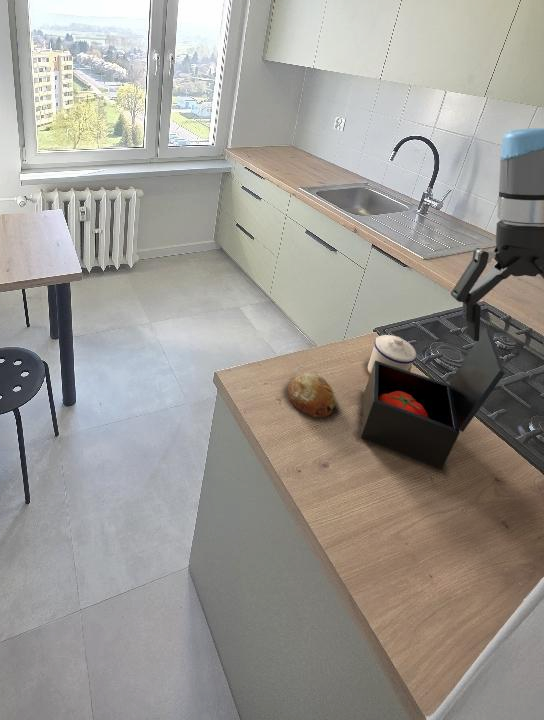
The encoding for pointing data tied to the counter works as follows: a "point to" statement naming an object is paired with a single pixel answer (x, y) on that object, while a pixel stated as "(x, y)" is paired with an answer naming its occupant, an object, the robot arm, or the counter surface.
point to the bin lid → (476, 379)
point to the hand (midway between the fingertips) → (517, 339)
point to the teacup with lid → (392, 352)
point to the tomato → (403, 402)
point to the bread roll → (312, 395)
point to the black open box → (410, 416)
